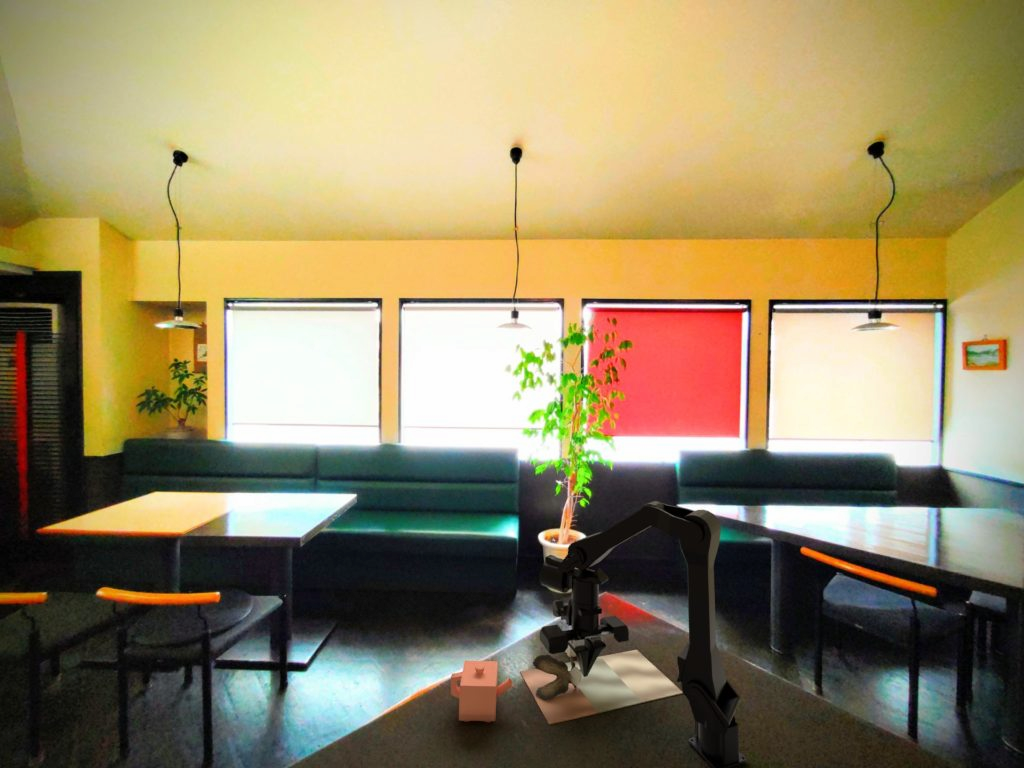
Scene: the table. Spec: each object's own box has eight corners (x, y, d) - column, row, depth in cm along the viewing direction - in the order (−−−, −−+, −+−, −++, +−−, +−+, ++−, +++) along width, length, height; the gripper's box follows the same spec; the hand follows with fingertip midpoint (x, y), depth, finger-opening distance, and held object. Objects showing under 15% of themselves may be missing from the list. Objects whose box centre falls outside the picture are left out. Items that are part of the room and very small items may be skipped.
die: (584, 654, 98) (584, 636, 98) (569, 657, 97) (569, 639, 97) (577, 645, 102) (577, 628, 102) (562, 648, 101) (562, 630, 101)
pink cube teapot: (512, 727, 75) (513, 680, 76) (447, 726, 75) (448, 678, 76) (512, 698, 83) (513, 655, 83) (453, 696, 83) (454, 654, 84)
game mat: (683, 693, 85) (683, 692, 85) (549, 724, 76) (549, 723, 76) (636, 650, 100) (636, 649, 100) (520, 672, 91) (520, 671, 91)
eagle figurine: (564, 666, 91) (527, 665, 88) (578, 647, 88) (540, 646, 86) (575, 706, 85) (535, 707, 82) (590, 686, 82) (549, 687, 79)
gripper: (603, 579, 99) (603, 647, 98) (530, 588, 93) (529, 660, 92) (631, 600, 88) (631, 676, 87) (550, 611, 82) (549, 693, 81)
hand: (584, 675), depth 87 cm, fingers closed
